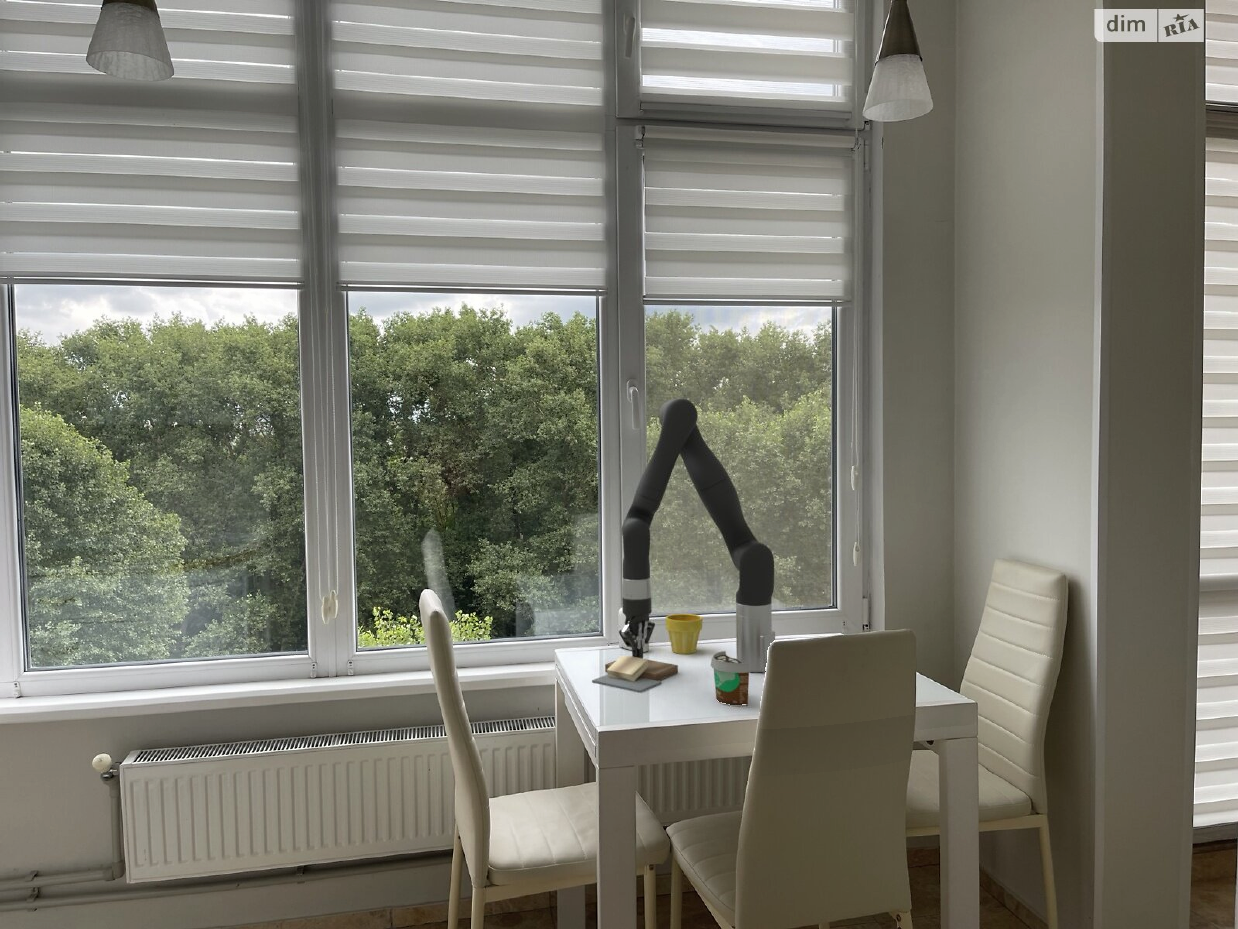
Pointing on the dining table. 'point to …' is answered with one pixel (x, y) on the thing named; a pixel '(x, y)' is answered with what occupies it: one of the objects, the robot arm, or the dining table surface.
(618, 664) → the cream flat block
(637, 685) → the mat
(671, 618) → the plant pot
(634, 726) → the dining table surface
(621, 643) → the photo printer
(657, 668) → the brown wooden block
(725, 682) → the food container
